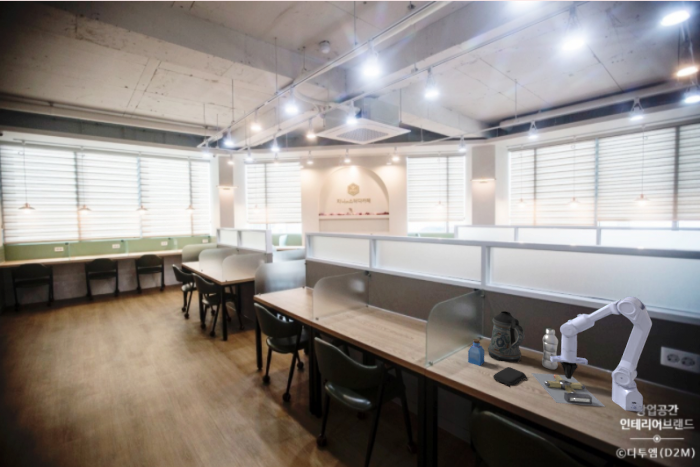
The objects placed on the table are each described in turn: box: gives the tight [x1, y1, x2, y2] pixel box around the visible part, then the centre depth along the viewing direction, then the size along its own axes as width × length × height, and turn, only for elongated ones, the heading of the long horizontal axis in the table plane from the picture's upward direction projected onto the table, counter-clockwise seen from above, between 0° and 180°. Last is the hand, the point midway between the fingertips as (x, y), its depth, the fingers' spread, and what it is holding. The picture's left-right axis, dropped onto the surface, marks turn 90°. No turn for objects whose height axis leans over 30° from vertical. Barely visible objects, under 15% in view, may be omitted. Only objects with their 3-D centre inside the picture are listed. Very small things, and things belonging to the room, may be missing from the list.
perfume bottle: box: [467, 338, 485, 367], centre depth 160 cm, size 6×6×12 cm
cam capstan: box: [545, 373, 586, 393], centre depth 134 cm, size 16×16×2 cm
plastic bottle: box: [541, 328, 559, 370], centre depth 152 cm, size 6×7×20 cm
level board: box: [531, 372, 606, 408], centre depth 134 cm, size 24×18×1 cm
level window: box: [564, 392, 592, 404], centre depth 123 cm, size 3×9×3 cm, turn 81°
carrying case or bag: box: [492, 366, 527, 387], centre depth 143 cm, size 11×3×15 cm
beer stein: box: [487, 310, 526, 363], centre depth 165 cm, size 16×19×25 cm
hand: (568, 377), depth 138 cm, fingers closed
